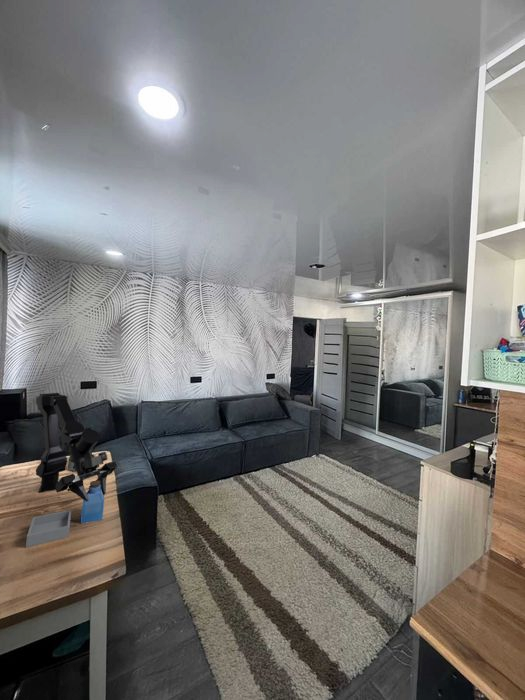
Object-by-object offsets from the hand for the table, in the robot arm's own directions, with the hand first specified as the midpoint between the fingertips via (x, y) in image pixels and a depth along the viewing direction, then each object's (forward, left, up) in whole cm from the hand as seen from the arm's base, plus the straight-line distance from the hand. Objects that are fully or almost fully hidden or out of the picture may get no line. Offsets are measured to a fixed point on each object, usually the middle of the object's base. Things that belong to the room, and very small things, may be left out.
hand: (96, 497), depth 94 cm
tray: (+2, -12, -7) cm, 14 cm away
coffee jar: (-48, -6, -7) cm, 49 cm away
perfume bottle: (-1, -1, -7) cm, 7 cm away
